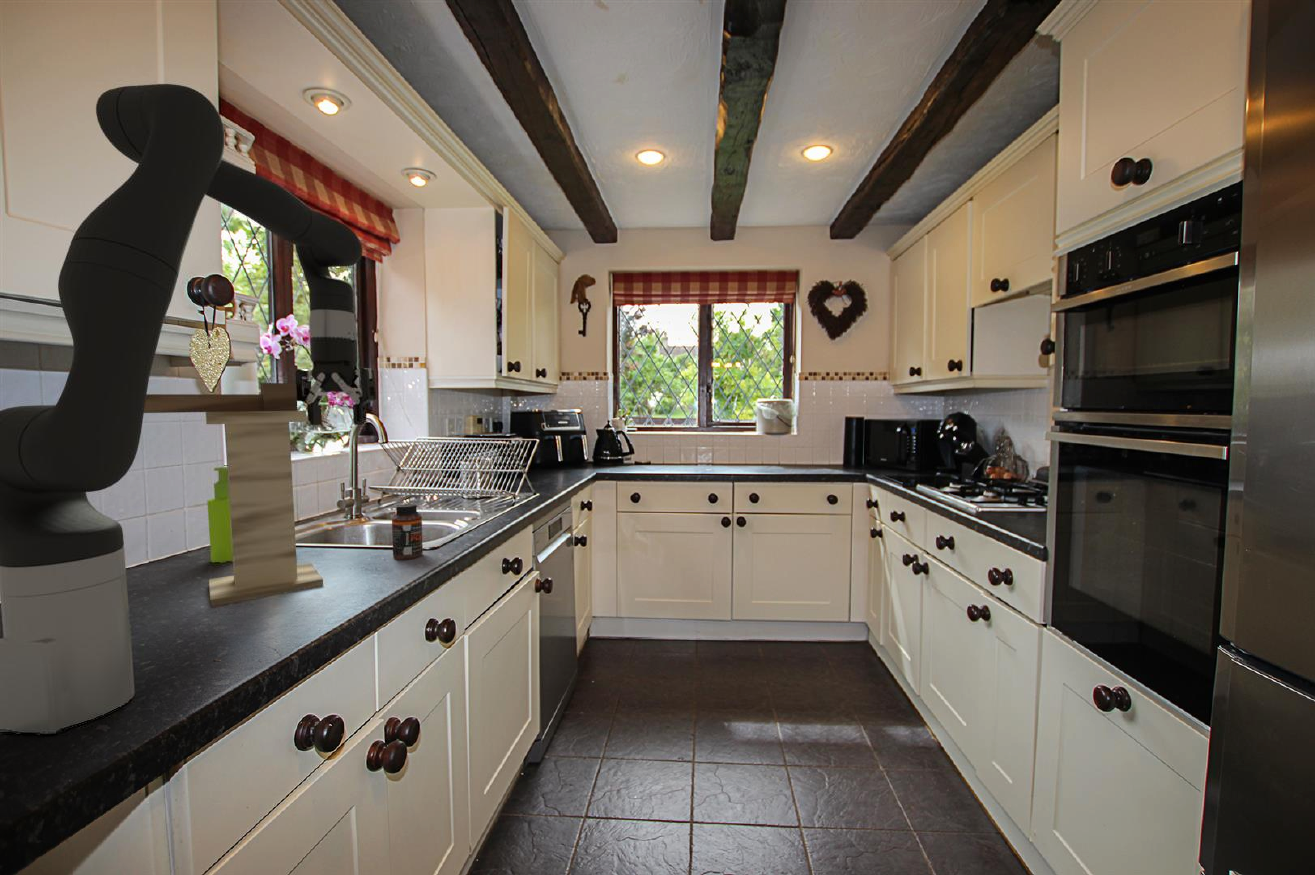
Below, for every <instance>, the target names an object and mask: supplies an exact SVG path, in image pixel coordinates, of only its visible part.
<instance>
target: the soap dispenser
mask: <svg viewBox="0 0 1315 875" xmlns="http://www.w3.org/2000/svg"><path fill="white" fill-rule="evenodd" d="M213 469H214V472H215V471H217V475H218V481H216V482H214V483H213V488H214V489H213V491H214V497H213V498H210V499H207V517H208V518H207V520H208V531H209V547H210V561H211V563H215V562H220V563H227V562H226V561H230V562H233V557H232V540H231V524H230V508H229V491H228V475H227V466H222V467H214V468H213Z"/></svg>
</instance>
